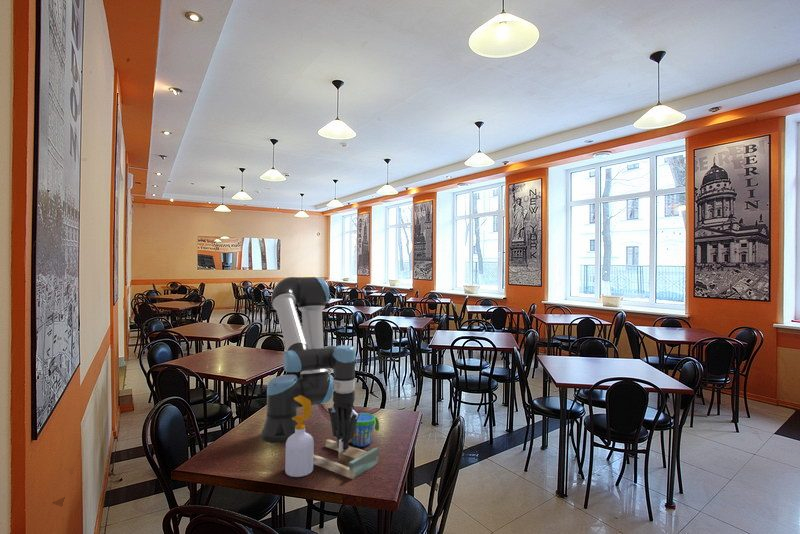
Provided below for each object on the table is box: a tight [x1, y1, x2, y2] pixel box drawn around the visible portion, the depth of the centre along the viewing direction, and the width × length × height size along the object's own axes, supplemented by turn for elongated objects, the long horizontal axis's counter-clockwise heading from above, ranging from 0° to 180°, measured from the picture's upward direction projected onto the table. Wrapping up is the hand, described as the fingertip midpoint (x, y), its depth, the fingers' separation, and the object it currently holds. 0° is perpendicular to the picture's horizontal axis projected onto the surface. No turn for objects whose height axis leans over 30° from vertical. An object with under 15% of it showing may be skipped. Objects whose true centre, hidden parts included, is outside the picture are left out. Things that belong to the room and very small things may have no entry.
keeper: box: [338, 446, 366, 467], centre depth 141 cm, size 7×6×4 cm
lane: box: [313, 438, 380, 480], centre depth 144 cm, size 24×14×5 cm, turn 56°
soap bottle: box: [284, 395, 315, 478], centre depth 136 cm, size 9×9×25 cm
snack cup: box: [350, 412, 380, 447], centre depth 159 cm, size 16×10×10 cm
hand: (342, 457), depth 143 cm, fingers closed
